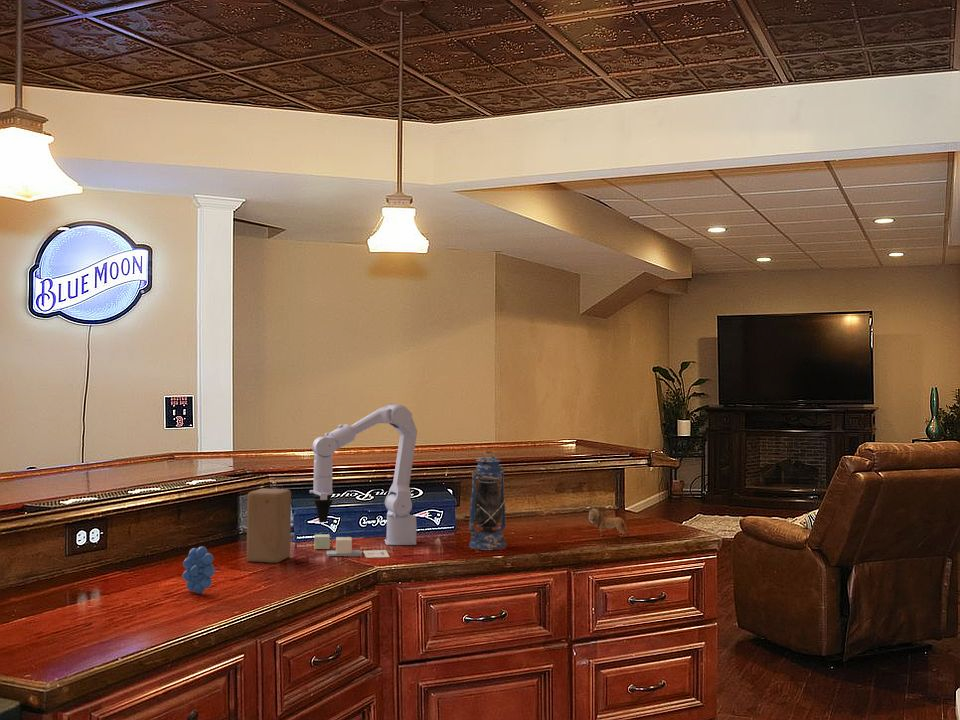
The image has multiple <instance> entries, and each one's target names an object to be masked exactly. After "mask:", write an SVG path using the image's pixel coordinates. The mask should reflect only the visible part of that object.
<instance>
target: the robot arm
mask: <svg viewBox="0 0 960 720" xmlns="http://www.w3.org/2000/svg"><path fill="white" fill-rule="evenodd" d="M378 424H389V425H390V426H392V427H393V428H394V429H395V431H396V432H397V433H398V434H399V441H398V447H397V454H396V462H395V468H394V473H393V474H394V475H393V480H392V483H391V486H390V488H389V490H388V494H387V495H386V497H385V499H384V505H385V508H386V509H387V513H386V538H385V539H383V541H385V542H384V543H385V544H386V546H410V545H411V546H414V545H415V546H416V545H417V544H418V543H417V535H418V533H417V516H416V515H414V514H410V512H411V511H412V508H413V502H412V499H411V498H412V491H411V488H410V483H411V475H412V468H413V462H414V456H415V450H416V449H415V448H416V443H417V442H416V441H417V434H418V430H417V429H418V428H417V426H416V424H415V421H414V419H413V413H412V412H411V411H410V409H408V408H407V407H406V406H405V405H402V404H395V403H390V404H387V405H385V406H382V407H379V408H378V409H376V410H374V411H373V412H371V413H369V414H367V415H366V416H364V417H363V418H361V419H359V420H358V421H356V422H355V423H353V424H351V425H349V424H347V423H345V424H341V423H340V424H338V425H337V428H335V429H334V430H332V431H330V432H325V433H324V436H319V437H316V438H315V439H314V441H313V442H312V445H311V450H312V452H313V459H314V460H313V486H312V487H313V489H310V490H309V494H314V495H312V497H313V501H314V505H316V512H317V517H318V522H319V523H320V524H321V523H327V522H328V518H329V512H330V507H331V506H332V504H333V499H331V498H332V494H333V493H334V490H333V465H334V464H333V454H334V453H335V451H337V450H339V449H341V448H342V447H344V446H346V445H347V444H348V445H349V444H350V443H351V442H353V441H355V439H356V436H357V435H358V434H360V433H362V432H363V431H366V430H367V429H370V428H371V427H372V428H373V427H374V426H375V425H378Z"/></svg>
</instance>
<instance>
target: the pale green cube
mask: <svg viewBox="0 0 960 720" xmlns="http://www.w3.org/2000/svg"><path fill="white" fill-rule="evenodd" d="M330 547H331V536H330V534H329V533H327V534H325V533H323V534H314V550H315V549H331V548H330Z"/></svg>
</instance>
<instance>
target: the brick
mask: <svg viewBox="0 0 960 720" xmlns="http://www.w3.org/2000/svg"><path fill="white" fill-rule="evenodd" d="M335 539H336V540H335V550H336V554H339V553H352V550H353V542H352V541H353V539H352V537H351V536H336V537H335Z"/></svg>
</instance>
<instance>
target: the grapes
mask: <svg viewBox="0 0 960 720" xmlns="http://www.w3.org/2000/svg"><path fill="white" fill-rule="evenodd" d="M213 561H214V556H213V554H212V553H210V552H208V549H207V547H205V546H204V545H202V546H199V547H197V548H196V547H193V548H191V549H190V550H189V552H188V556H187V557H186V558H185V559H184V560H183V562H182V563H183V564H182V566H183V567H184V568H185V570H184V571H183V573H182V579H183V580H184V581H186V582H187V583H186V589H187V590H188V591H190V592H194V593H195V594H197V595H200V594H201V595H202V593H203V592H204V591H205V589H209V588H210V587H211V586H212V583H213V580H212V578H211V577H213V576H214V574H215V573H216V568H215V566H214V565H213V564H212V563H213Z"/></svg>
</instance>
